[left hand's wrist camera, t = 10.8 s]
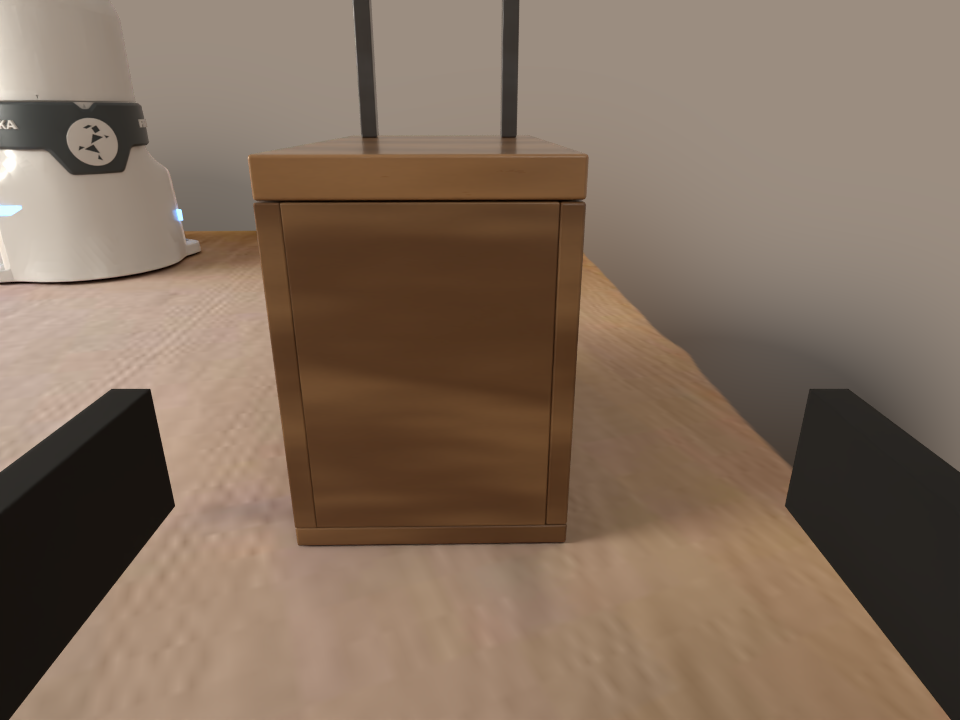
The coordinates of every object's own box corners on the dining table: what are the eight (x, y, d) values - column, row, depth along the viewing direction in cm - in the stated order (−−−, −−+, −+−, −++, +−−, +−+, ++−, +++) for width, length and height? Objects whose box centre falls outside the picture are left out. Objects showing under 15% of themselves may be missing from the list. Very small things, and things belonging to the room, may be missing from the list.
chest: (367, 368, 35) (352, 161, 31) (525, 366, 35) (531, 161, 31) (297, 546, 21) (252, 203, 17) (566, 542, 21) (586, 202, 17)
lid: (354, 160, 32) (338, -54, 28) (530, 160, 32) (536, -53, 28) (252, 201, 17) (193, -245, 13) (586, 200, 17) (613, -241, 13)
